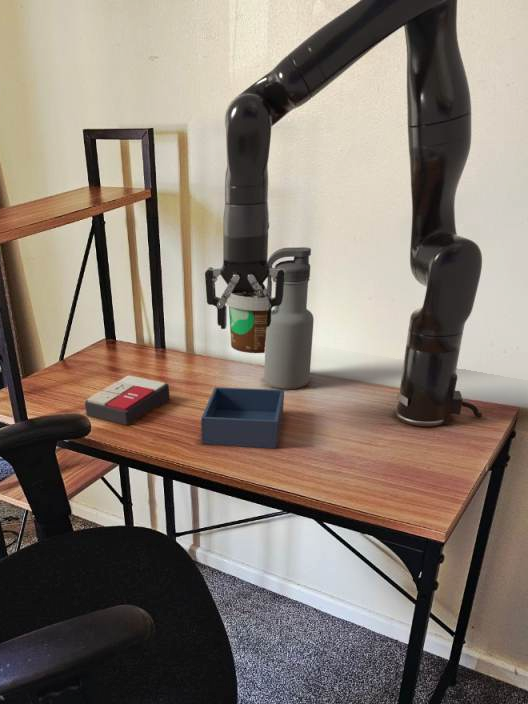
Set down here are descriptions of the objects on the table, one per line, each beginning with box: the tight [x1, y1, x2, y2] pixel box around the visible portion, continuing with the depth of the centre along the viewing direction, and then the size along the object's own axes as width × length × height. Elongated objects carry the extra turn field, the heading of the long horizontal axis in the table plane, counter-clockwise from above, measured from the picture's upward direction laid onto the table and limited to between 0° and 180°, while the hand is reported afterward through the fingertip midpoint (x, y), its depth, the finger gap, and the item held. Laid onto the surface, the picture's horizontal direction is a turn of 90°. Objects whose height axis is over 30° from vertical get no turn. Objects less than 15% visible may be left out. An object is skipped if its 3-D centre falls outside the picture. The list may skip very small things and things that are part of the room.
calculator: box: [84, 374, 170, 426], centre depth 147 cm, size 11×4×15 cm
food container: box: [225, 291, 269, 354], centre depth 127 cm, size 12×6×10 cm, turn 6°
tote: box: [200, 386, 285, 449], centre depth 135 cm, size 14×15×5 cm
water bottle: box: [263, 246, 315, 390], centre depth 148 cm, size 10×10×28 cm
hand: (244, 328), depth 127 cm, fingers closed on food container, 7 cm apart
